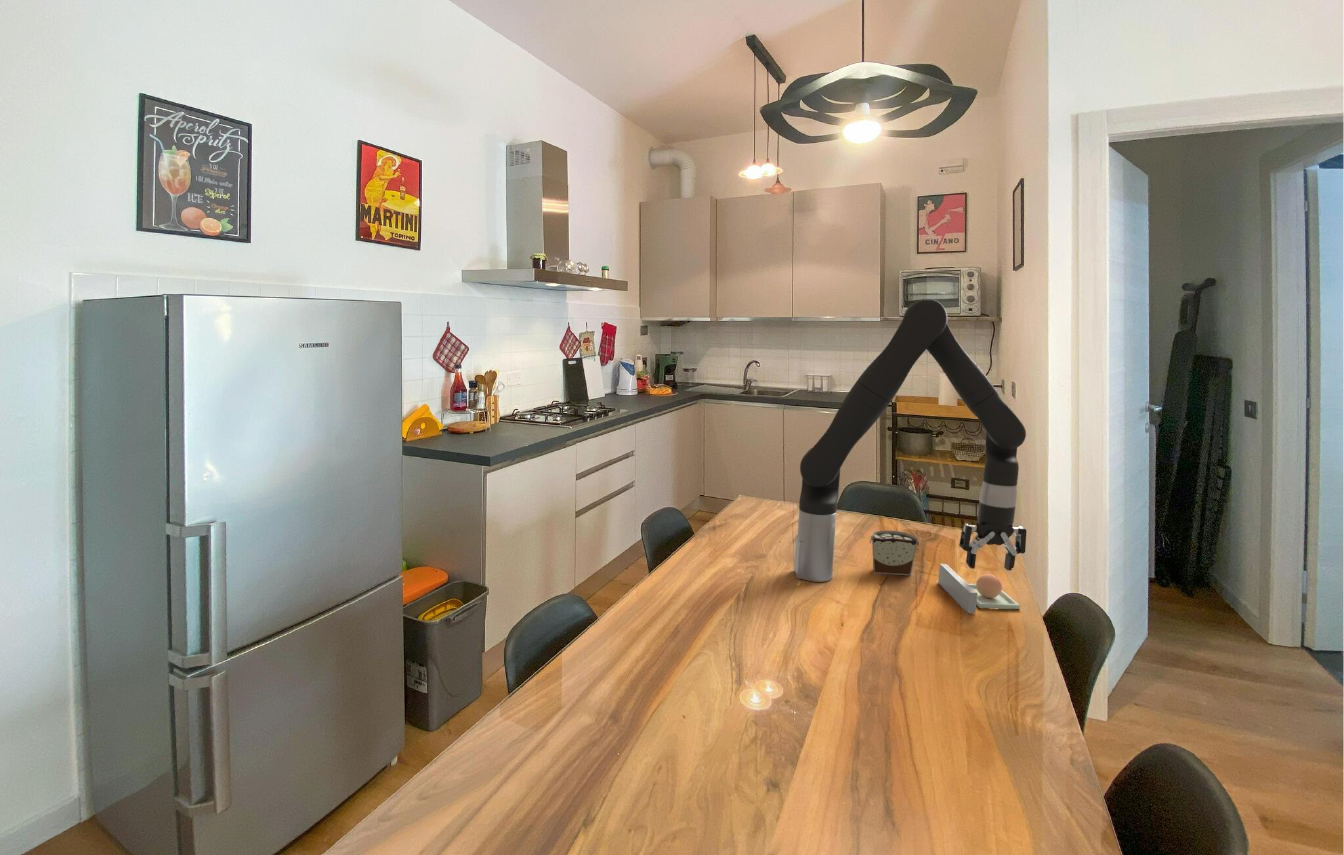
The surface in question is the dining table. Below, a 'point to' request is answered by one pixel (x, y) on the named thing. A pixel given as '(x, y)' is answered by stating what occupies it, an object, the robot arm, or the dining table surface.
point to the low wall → (957, 588)
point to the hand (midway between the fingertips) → (989, 568)
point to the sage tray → (995, 601)
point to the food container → (893, 552)
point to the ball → (989, 586)
